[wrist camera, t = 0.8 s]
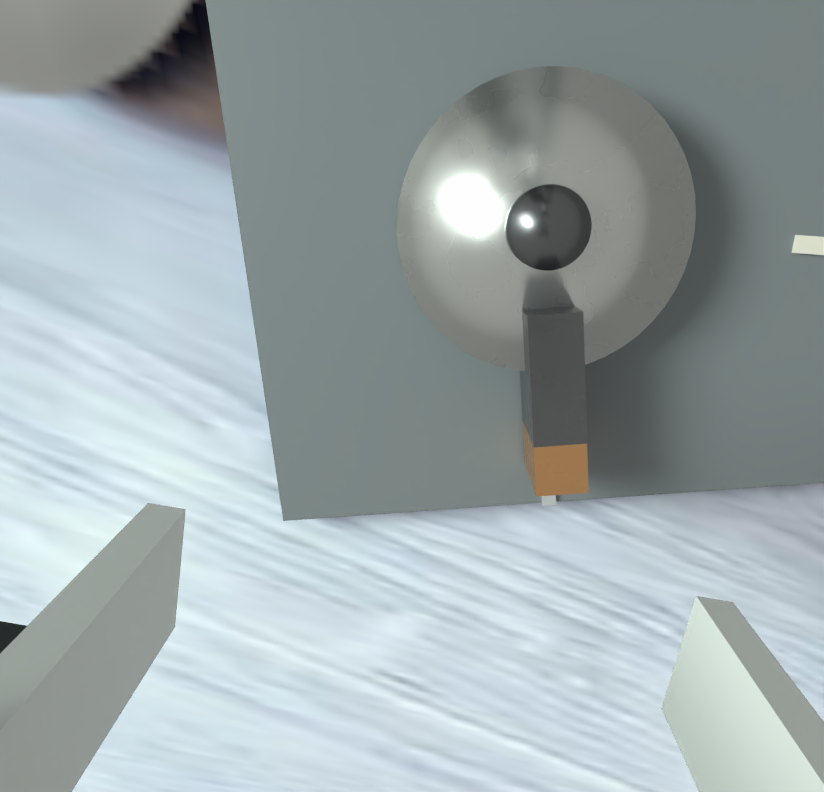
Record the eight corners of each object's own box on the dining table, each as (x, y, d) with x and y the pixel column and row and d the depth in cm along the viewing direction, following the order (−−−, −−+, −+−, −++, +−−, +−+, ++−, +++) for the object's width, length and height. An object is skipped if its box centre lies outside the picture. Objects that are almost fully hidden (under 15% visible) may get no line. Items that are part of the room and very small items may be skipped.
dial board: (207, -62, 27) (191, -81, 25) (841, -137, 26) (870, -162, 24) (290, 509, 33) (282, 525, 31) (807, 472, 32) (828, 487, 30)
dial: (386, 92, 27) (378, 74, 23) (678, 62, 26) (715, 39, 23) (421, 471, 31) (419, 504, 27) (676, 452, 30) (708, 484, 26)
